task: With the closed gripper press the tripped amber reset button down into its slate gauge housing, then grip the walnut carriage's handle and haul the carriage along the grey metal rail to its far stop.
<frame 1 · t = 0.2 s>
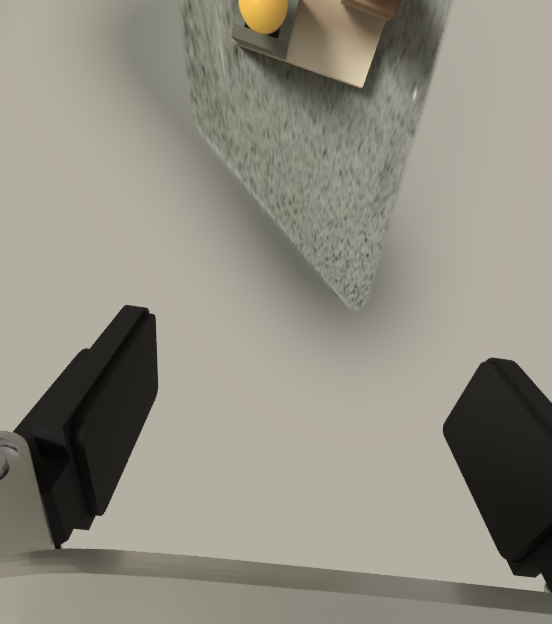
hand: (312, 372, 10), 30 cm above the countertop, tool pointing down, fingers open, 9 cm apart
reset button: (265, 9, 24), point 6 cm above the countertop, slide at 0.0 cm
rail base: (316, 3, 28), on the countertop
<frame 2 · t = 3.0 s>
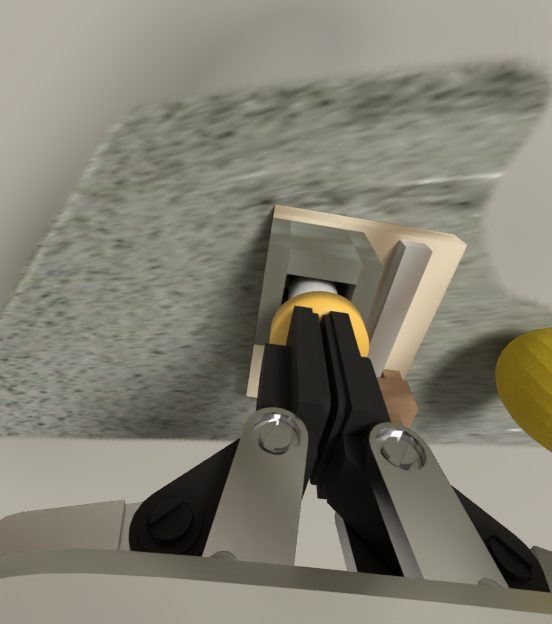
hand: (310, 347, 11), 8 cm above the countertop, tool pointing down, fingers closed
lemon: (518, 339, 20), on the countertop
reset button: (314, 309, 13), point 6 cm above the countertop, slide at 0.5 cm, touching gripper
carriage: (371, 449, 17), point 6 cm above the countertop, slide at 0.0 cm
rail base: (336, 317, 20), on the countertop
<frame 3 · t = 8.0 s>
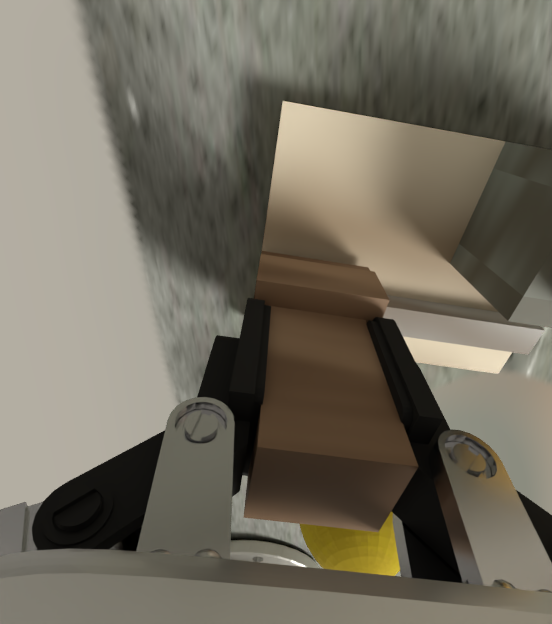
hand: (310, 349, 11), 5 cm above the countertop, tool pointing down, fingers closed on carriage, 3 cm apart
lemon: (340, 423, 20), on the countertop
carriage: (312, 366, 10), point 6 cm above the countertop, slide at 0.0 cm, touching gripper
rail base: (401, 250, 14), on the countertop
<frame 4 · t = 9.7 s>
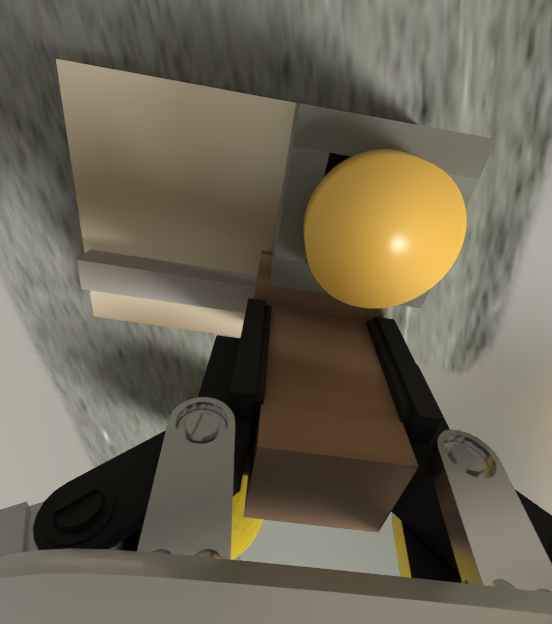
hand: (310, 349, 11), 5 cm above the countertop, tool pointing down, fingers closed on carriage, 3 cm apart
lemon: (227, 408, 20), on the countertop
reset button: (361, 208, 9), point 4 cm above the countertop, slide at 1.6 cm
carriage: (312, 365, 10), point 6 cm above the countertop, slide at 6.7 cm, touching gripper
rail base: (241, 224, 14), on the countertop
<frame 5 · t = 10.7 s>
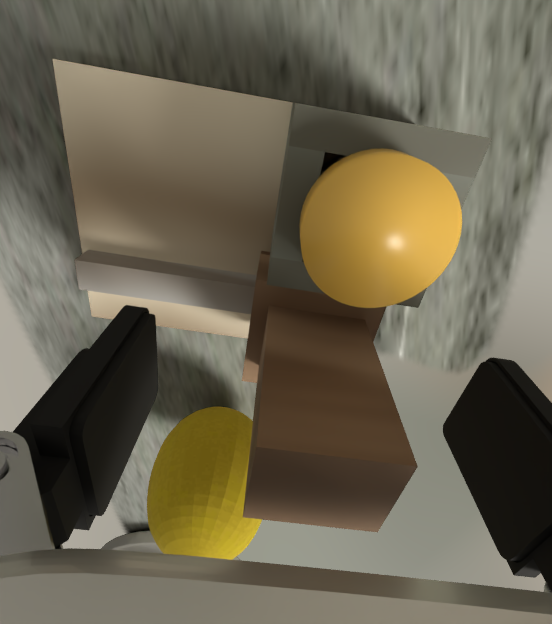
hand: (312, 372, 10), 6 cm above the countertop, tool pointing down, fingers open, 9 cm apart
lemon: (225, 408, 20), on the countertop
reset button: (357, 208, 9), point 4 cm above the countertop, slide at 1.6 cm
carriage: (311, 365, 10), point 6 cm above the countertop, slide at 6.8 cm
rail base: (239, 224, 14), on the countertop
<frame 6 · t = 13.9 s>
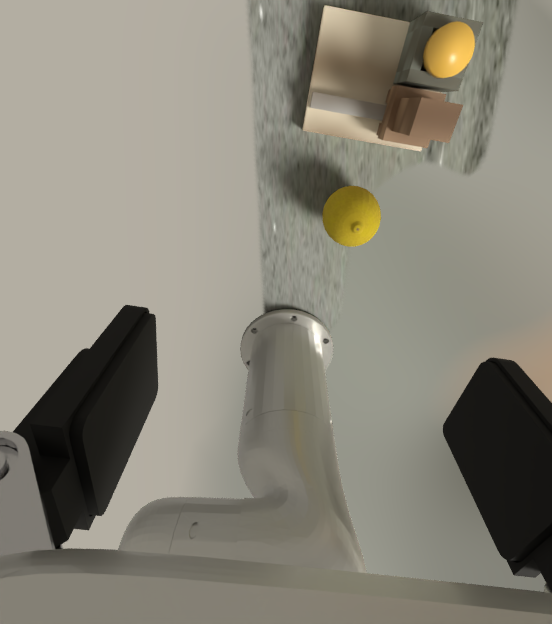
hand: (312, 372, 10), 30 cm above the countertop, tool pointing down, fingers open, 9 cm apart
lemon: (344, 205, 37), on the countertop
reset button: (437, 54, 27), point 4 cm above the countertop, slide at 1.6 cm
carriage: (417, 118, 28), point 6 cm above the countertop, slide at 6.8 cm
rail base: (373, 85, 31), on the countertop
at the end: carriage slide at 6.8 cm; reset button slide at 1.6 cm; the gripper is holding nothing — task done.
